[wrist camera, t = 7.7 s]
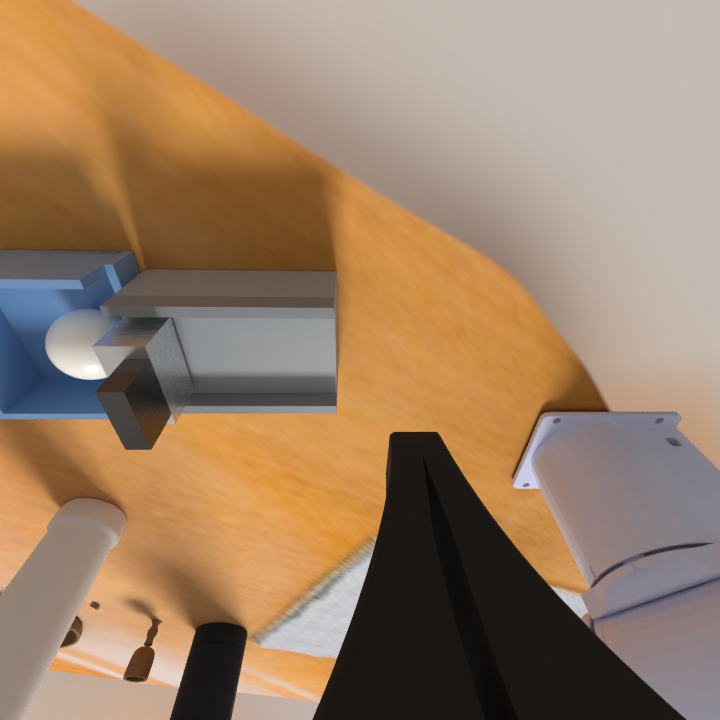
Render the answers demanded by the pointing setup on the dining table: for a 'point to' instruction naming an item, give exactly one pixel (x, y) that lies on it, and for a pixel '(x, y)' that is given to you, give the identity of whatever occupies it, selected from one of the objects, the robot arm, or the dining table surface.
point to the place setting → (141, 657)
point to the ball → (78, 342)
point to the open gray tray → (246, 335)
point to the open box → (35, 316)
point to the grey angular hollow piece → (142, 379)
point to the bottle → (51, 596)
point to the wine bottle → (211, 673)
